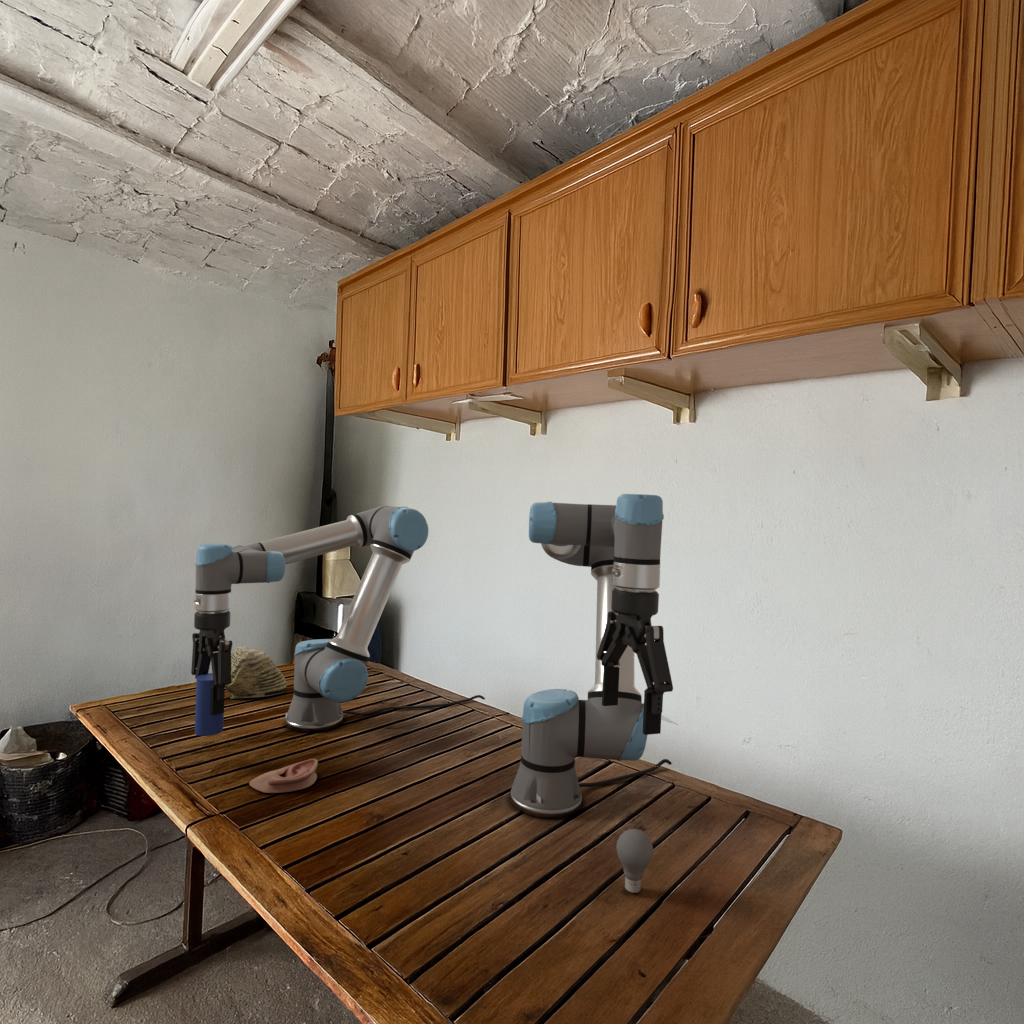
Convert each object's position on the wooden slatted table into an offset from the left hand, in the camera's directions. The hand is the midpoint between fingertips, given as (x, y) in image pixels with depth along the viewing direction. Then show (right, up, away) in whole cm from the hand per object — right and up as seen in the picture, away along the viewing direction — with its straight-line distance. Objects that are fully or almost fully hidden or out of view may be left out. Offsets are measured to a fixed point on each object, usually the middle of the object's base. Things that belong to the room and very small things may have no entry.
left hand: (209, 710), depth 146 cm
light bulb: (+90, -18, -41) cm, 100 cm away
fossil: (-11, -11, +52) cm, 54 cm away
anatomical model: (+20, -14, -7) cm, 25 cm away
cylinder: (0, -5, 0) cm, 5 cm away
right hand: (+89, +12, -43) cm, 100 cm away
